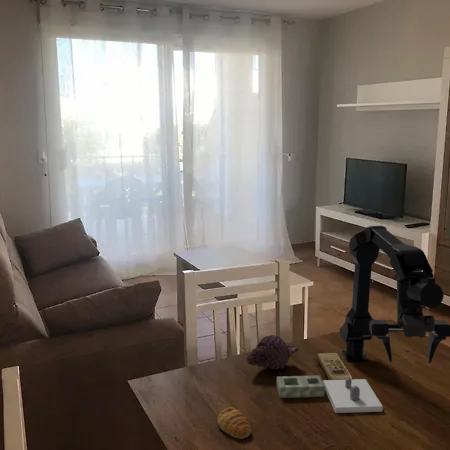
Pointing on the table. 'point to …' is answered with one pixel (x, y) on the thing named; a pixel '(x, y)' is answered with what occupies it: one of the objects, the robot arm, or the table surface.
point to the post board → (344, 395)
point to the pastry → (234, 423)
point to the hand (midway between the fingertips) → (409, 362)
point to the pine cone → (271, 353)
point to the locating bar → (300, 386)
